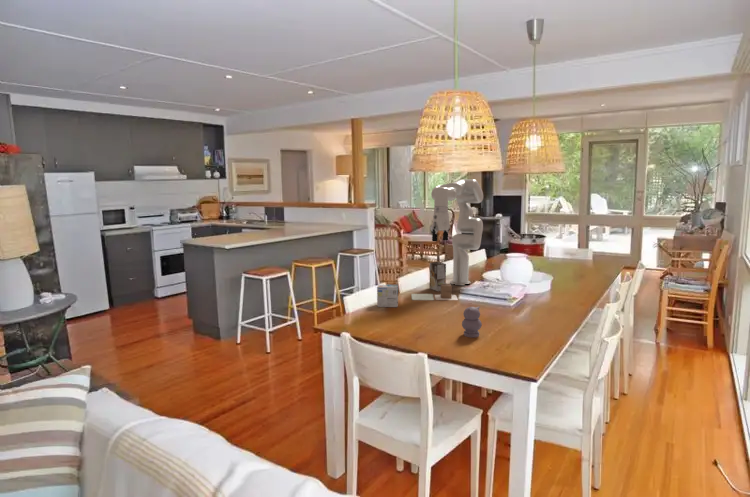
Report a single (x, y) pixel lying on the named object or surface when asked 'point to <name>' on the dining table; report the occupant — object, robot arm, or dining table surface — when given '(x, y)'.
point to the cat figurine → (471, 322)
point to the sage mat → (422, 297)
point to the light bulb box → (387, 295)
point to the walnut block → (446, 291)
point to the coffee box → (437, 275)
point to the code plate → (438, 297)
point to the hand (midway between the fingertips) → (440, 240)
